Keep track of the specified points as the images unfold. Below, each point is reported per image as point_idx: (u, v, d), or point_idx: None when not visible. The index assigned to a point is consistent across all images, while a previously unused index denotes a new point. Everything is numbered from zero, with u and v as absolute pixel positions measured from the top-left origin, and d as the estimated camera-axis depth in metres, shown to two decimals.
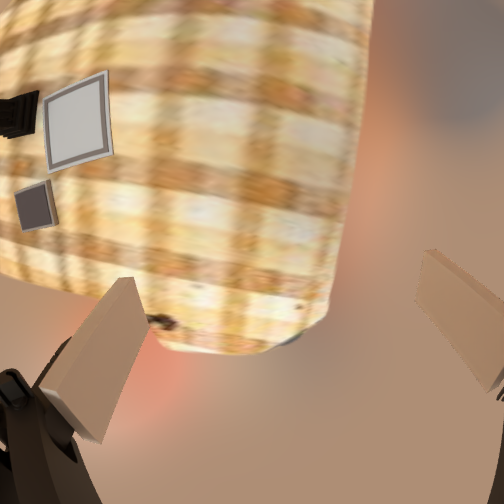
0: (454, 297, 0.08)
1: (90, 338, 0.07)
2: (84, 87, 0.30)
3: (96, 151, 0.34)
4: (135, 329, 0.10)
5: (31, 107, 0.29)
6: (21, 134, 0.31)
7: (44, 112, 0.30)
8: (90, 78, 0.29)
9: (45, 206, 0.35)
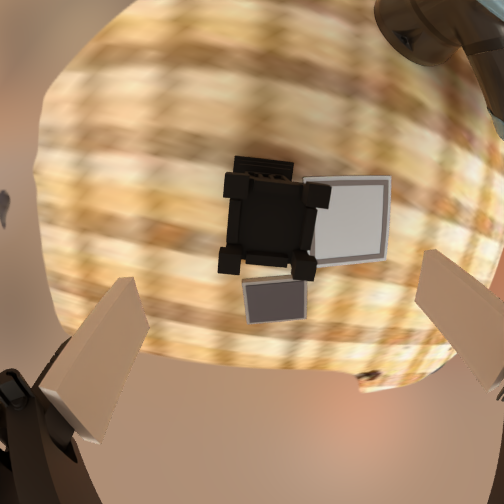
0: (455, 296, 0.08)
1: (90, 338, 0.07)
2: (366, 186, 0.37)
3: (373, 255, 0.41)
4: (135, 329, 0.10)
5: None
6: None
7: None
8: (374, 179, 0.36)
9: (300, 302, 0.43)
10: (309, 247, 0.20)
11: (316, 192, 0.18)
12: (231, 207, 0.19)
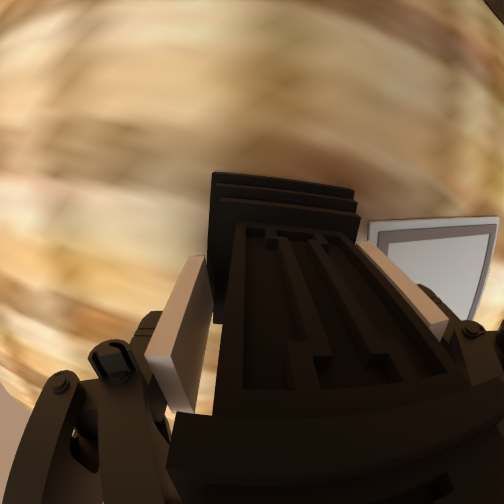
0: None
1: (187, 306, 0.08)
2: (469, 237, 0.16)
3: None
4: (207, 304, 0.12)
5: None
6: None
7: None
8: (481, 225, 0.16)
9: None
10: None
11: None
12: None
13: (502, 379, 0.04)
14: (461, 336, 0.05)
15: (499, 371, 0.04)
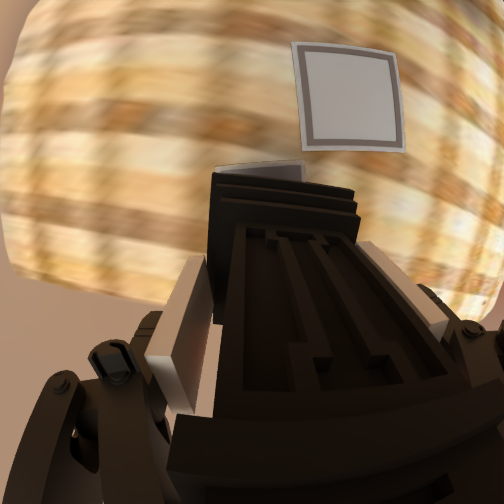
0: None
1: (187, 306, 0.08)
2: (368, 58, 0.24)
3: (389, 142, 0.28)
4: (207, 304, 0.12)
5: None
6: None
7: (298, 61, 0.25)
8: (376, 52, 0.24)
9: None
10: None
11: None
12: None
13: (502, 379, 0.04)
14: (461, 336, 0.05)
15: (499, 371, 0.04)
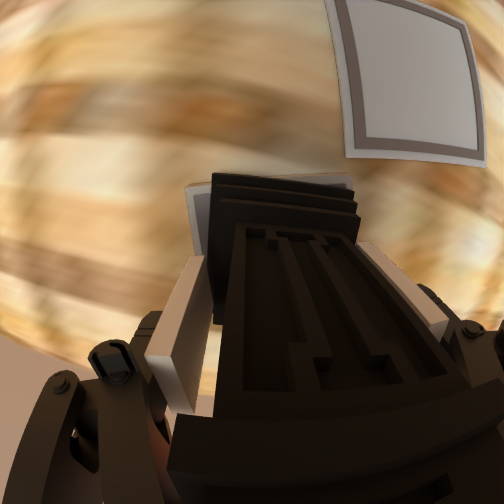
0: None
1: (187, 306, 0.08)
2: (435, 21, 0.11)
3: (469, 151, 0.15)
4: (207, 304, 0.12)
5: None
6: None
7: (334, 6, 0.11)
8: (445, 16, 0.10)
9: None
10: None
11: None
12: None
13: (502, 379, 0.04)
14: (461, 336, 0.05)
15: (499, 371, 0.04)
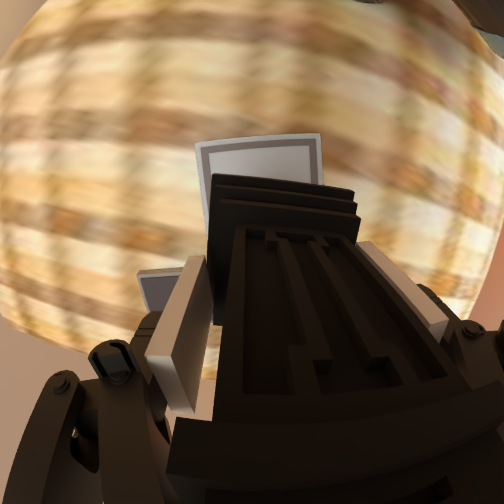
0: None
1: (187, 306, 0.08)
2: (283, 148, 0.28)
3: None
4: (207, 304, 0.12)
5: None
6: None
7: (201, 167, 0.29)
8: (294, 139, 0.28)
9: None
10: None
11: None
12: None
13: (502, 379, 0.04)
14: (461, 336, 0.05)
15: (498, 371, 0.04)
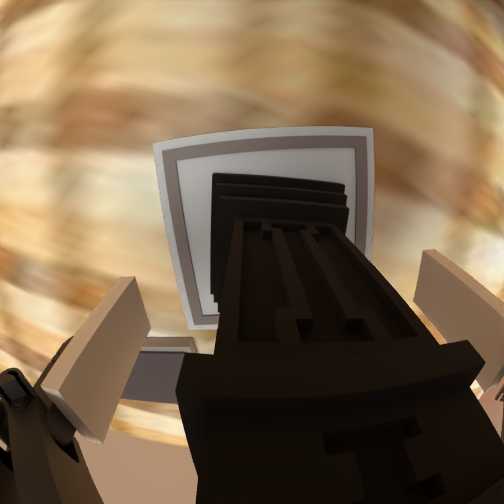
0: (453, 296, 0.08)
1: (92, 337, 0.07)
2: (310, 151, 0.16)
3: None
4: (136, 328, 0.10)
5: None
6: None
7: (165, 186, 0.16)
8: (330, 135, 0.15)
9: None
10: None
11: None
12: None
13: None
14: None
15: None
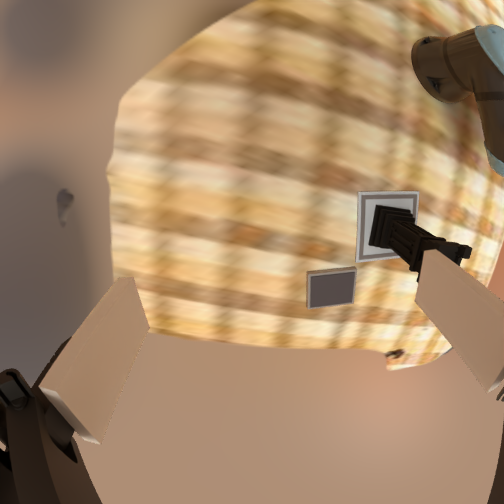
0: (454, 297, 0.08)
1: (90, 338, 0.07)
2: (401, 199, 0.46)
3: None
4: (135, 329, 0.10)
5: None
6: None
7: (360, 207, 0.47)
8: (407, 194, 0.45)
9: (351, 289, 0.52)
10: None
11: (467, 251, 0.29)
12: None
13: None
14: None
15: None
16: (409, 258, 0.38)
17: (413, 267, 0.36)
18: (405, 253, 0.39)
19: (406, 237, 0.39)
